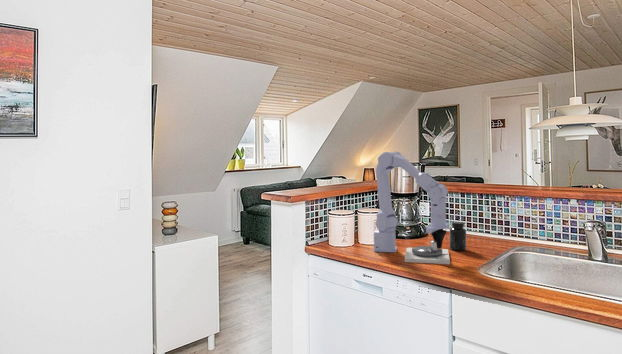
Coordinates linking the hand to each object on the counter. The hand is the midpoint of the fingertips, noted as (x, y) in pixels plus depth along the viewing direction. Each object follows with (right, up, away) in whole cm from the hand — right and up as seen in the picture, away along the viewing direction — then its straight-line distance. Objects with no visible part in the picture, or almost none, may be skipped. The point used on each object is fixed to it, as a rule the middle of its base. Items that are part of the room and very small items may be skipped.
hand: (438, 247), depth 153 cm
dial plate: (-3, -5, +4) cm, 7 cm away
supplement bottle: (+13, -4, +14) cm, 20 cm away
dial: (-4, -3, +4) cm, 6 cm away
